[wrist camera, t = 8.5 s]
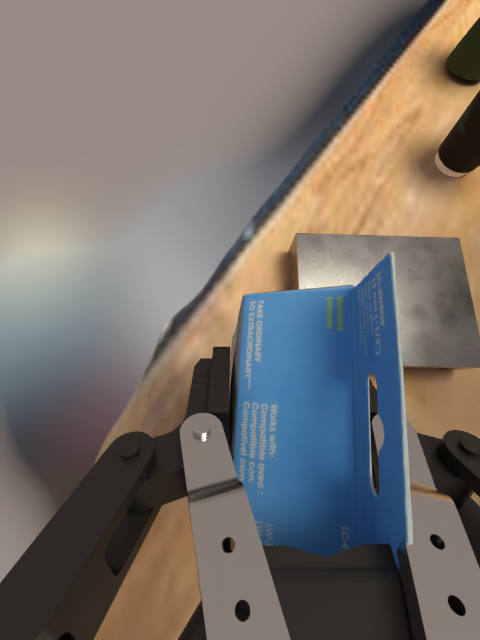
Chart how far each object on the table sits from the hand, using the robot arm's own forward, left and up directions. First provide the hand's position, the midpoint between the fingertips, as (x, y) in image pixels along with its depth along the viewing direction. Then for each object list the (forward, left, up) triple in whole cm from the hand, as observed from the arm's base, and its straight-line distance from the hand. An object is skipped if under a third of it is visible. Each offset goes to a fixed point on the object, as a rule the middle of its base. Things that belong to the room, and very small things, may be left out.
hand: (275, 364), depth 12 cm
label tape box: (0, +2, -6) cm, 6 cm away
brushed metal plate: (-14, -8, -18) cm, 24 cm away
